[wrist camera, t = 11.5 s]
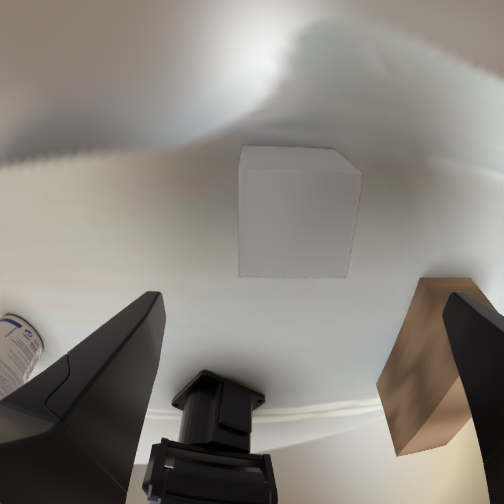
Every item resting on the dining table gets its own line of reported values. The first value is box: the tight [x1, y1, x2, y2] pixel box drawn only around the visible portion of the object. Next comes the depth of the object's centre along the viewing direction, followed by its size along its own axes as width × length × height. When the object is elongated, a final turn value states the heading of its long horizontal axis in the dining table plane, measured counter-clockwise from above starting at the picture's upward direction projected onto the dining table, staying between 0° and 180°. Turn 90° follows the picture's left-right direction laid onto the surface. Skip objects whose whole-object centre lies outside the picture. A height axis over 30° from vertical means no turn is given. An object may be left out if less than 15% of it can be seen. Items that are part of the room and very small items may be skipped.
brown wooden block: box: [376, 278, 497, 456], centre depth 20 cm, size 12×5×8 cm, turn 178°
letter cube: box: [238, 145, 363, 278], centre depth 16 cm, size 5×5×5 cm
